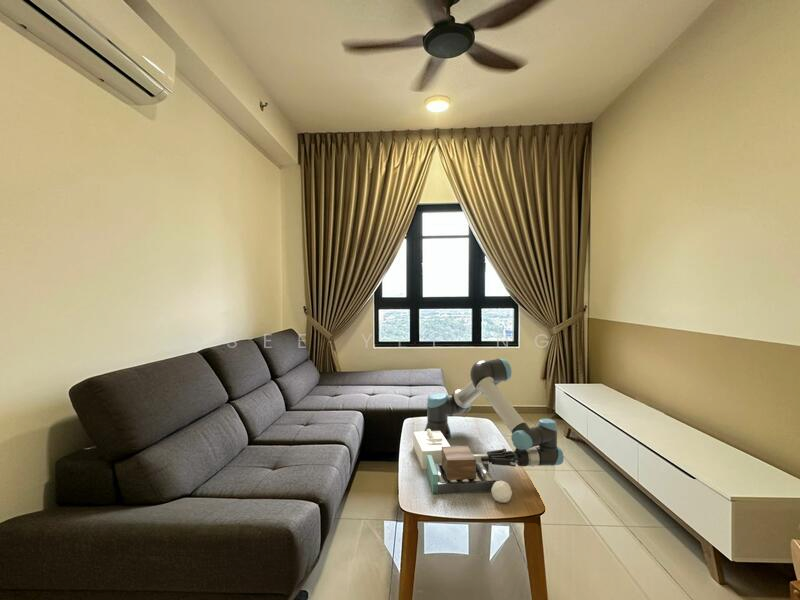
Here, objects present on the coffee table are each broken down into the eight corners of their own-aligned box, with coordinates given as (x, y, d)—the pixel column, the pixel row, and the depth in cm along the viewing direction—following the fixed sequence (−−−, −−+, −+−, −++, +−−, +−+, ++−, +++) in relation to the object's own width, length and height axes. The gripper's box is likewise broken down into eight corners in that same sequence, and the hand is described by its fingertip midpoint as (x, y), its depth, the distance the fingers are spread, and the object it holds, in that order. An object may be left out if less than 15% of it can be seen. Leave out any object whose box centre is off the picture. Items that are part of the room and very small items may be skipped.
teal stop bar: (427, 472, 167) (427, 455, 167) (431, 472, 167) (431, 454, 167) (433, 494, 149) (433, 474, 149) (438, 494, 149) (438, 474, 149)
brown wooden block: (441, 464, 165) (441, 446, 165) (467, 463, 166) (467, 445, 166) (447, 479, 151) (447, 460, 151) (476, 478, 152) (476, 459, 152)
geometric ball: (496, 507, 144) (485, 486, 148) (513, 497, 146) (502, 477, 149) (500, 507, 137) (489, 485, 141) (518, 497, 139) (507, 475, 143)
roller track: (427, 472, 167) (427, 462, 167) (487, 470, 169) (487, 460, 169) (433, 494, 149) (433, 483, 149) (500, 491, 150) (500, 480, 150)
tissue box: (422, 469, 171) (422, 446, 171) (413, 448, 195) (413, 427, 195) (452, 467, 172) (452, 444, 172) (440, 446, 197) (440, 426, 197)
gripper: (532, 472, 153) (477, 474, 152) (520, 458, 166) (469, 460, 165) (532, 454, 153) (476, 456, 152) (520, 442, 166) (469, 443, 165)
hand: (472, 458), depth 158 cm, fingers closed
